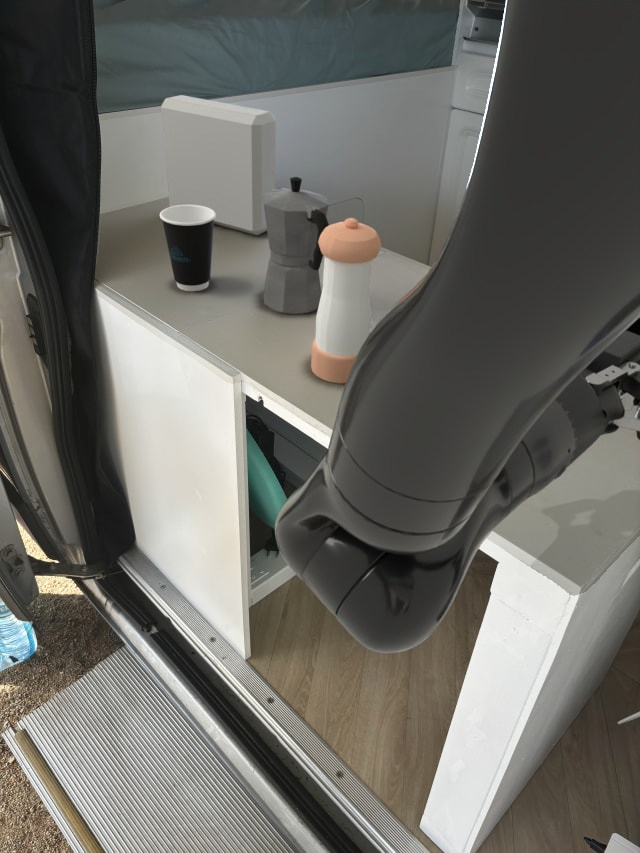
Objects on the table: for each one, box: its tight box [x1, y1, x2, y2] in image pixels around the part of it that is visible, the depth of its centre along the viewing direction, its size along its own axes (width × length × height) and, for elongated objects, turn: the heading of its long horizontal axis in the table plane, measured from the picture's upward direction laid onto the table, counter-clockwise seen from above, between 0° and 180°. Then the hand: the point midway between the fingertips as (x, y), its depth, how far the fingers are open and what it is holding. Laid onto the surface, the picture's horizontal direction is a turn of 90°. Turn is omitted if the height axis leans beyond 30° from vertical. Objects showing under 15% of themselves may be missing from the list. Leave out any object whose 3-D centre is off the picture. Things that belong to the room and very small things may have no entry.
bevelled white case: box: [160, 94, 277, 236], centre depth 118 cm, size 21×8×20 cm, turn 60°
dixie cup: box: [159, 205, 216, 292], centre depth 97 cm, size 8×8×11 cm
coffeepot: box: [262, 176, 330, 315], centre depth 92 cm, size 15×9×18 cm, turn 29°
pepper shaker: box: [310, 217, 382, 384], centre depth 77 cm, size 7×7×19 cm
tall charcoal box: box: [586, 330, 640, 402], centre depth 55 cm, size 2×5×8 cm, turn 135°
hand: (626, 350), depth 56 cm, fingers closed on tall charcoal box, 2 cm apart
